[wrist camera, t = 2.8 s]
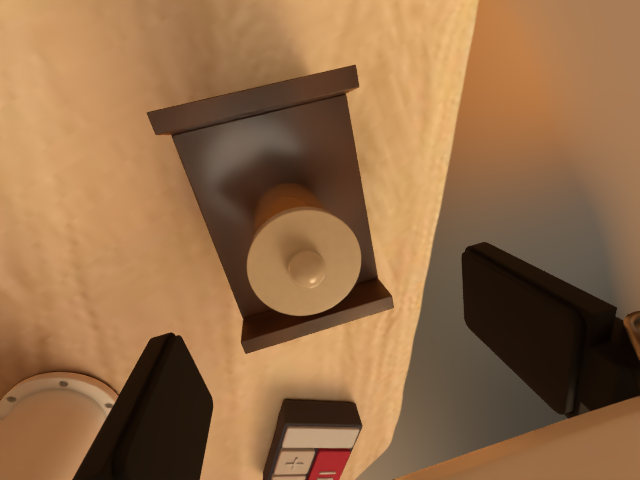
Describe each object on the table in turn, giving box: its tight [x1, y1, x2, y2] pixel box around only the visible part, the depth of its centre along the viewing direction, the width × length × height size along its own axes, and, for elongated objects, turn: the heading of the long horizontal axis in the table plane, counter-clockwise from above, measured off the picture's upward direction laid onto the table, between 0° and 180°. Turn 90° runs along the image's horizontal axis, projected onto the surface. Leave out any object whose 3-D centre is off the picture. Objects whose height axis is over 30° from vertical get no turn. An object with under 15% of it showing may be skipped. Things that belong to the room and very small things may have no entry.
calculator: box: [263, 400, 362, 480], centre depth 43 cm, size 11×4×15 cm
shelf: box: [147, 65, 394, 354], centre depth 26 cm, size 12×17×13 cm
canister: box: [247, 183, 361, 316], centre depth 18 cm, size 6×6×10 cm
